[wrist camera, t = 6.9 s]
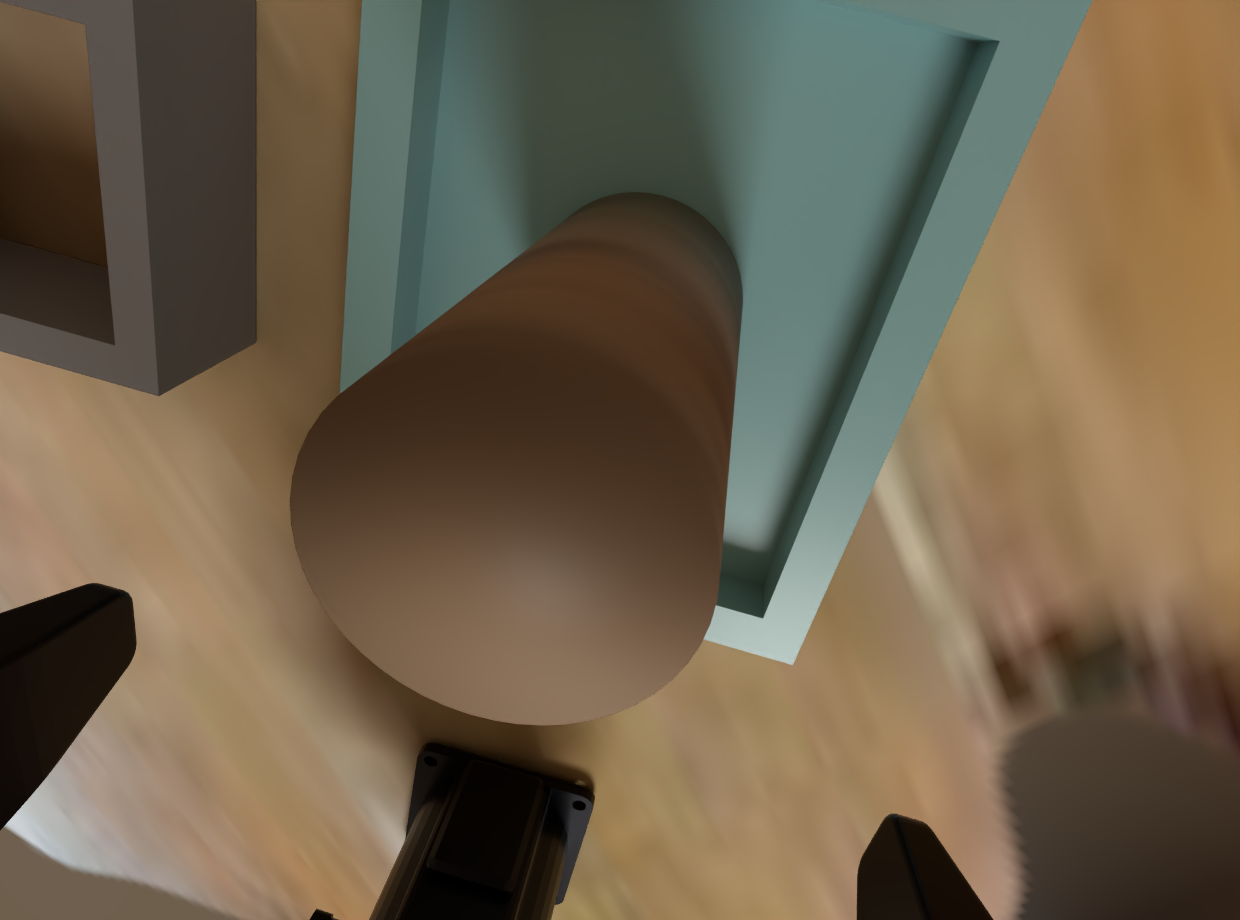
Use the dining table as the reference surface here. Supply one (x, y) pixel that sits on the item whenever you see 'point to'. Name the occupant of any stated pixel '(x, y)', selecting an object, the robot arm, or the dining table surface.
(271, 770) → the dining table surface
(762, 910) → the dining table surface
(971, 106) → the tray
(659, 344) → the pepper mill
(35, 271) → the holder
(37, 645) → the robot arm
